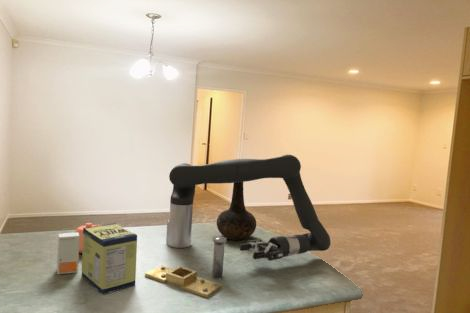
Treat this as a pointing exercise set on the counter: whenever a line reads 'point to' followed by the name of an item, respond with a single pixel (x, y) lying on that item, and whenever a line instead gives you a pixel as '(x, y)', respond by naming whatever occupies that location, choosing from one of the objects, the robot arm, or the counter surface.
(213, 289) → the hinge leaves
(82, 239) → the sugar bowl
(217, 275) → the hinge pin
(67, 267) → the skincare box
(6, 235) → the counter surface
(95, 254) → the protein box
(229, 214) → the glass bottle
